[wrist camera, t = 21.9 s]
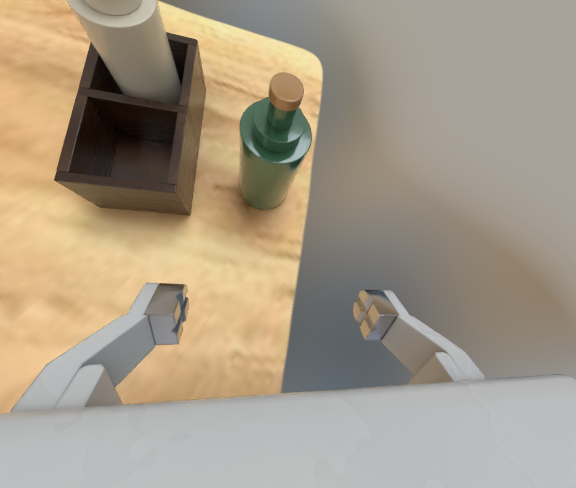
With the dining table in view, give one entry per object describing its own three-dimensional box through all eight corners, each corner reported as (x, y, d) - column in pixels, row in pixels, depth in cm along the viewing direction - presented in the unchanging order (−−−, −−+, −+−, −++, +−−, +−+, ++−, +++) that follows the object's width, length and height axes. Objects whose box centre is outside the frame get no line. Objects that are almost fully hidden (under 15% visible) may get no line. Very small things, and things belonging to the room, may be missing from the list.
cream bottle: (121, 108, 24) (-27, -115, 11) (156, 77, 25) (65, -151, 12) (166, 139, 24) (77, -41, 11) (197, 106, 26) (154, -85, 13)
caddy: (190, 215, 24) (175, 193, 18) (99, 207, 22) (53, 180, 17) (206, 89, 27) (197, 39, 22) (128, 74, 26) (97, 15, 20)
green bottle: (230, 192, 25) (219, 87, 12) (256, 158, 27) (273, 32, 14) (270, 219, 26) (303, 145, 13) (294, 183, 27) (345, 85, 14)
